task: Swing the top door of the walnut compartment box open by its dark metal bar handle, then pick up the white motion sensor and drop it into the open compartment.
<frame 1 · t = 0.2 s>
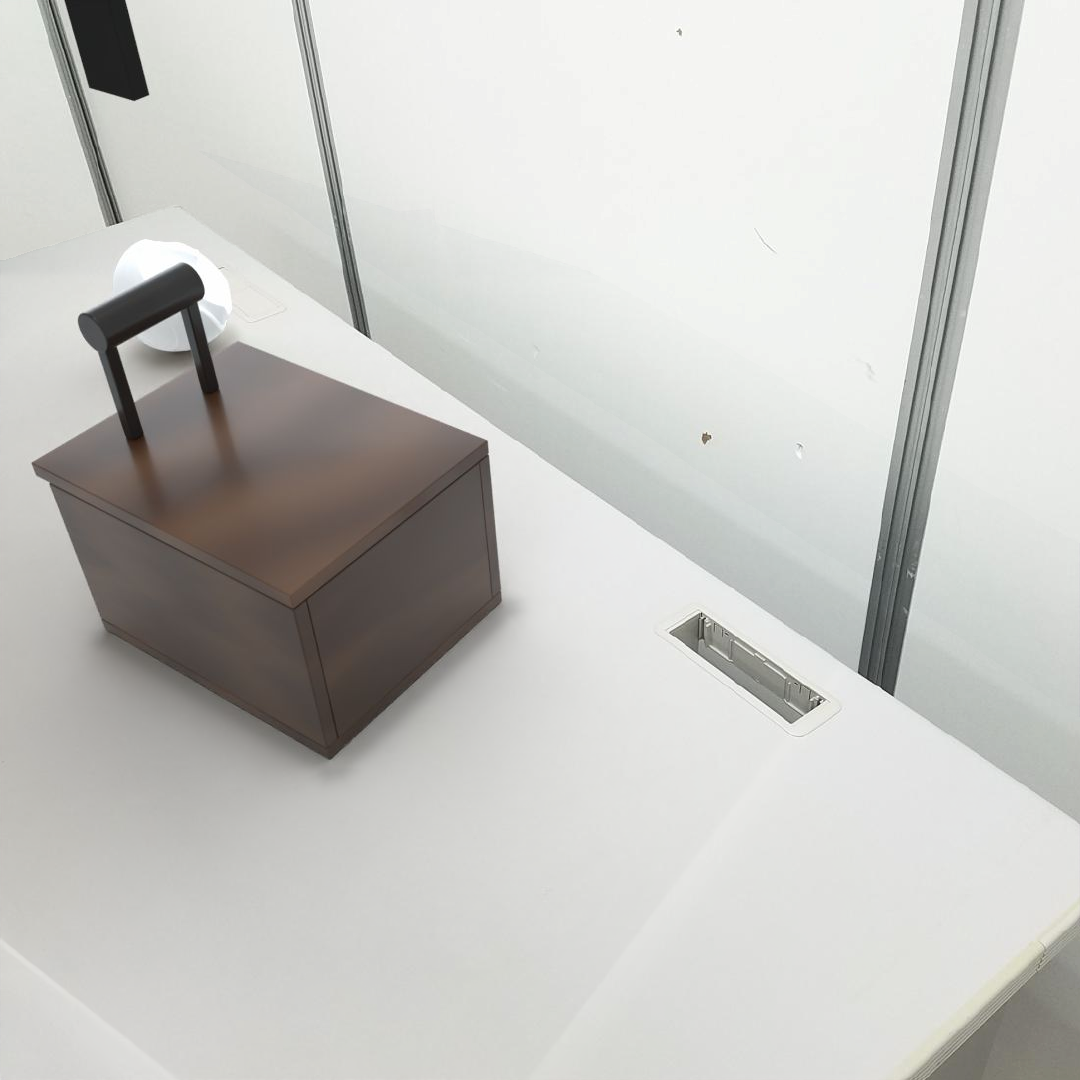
compartment: (304, 614, 67), on the table
compartment door: (247, 397, 58), point 14 cm above the table, hinge at 0.0°
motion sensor: (185, 346, 89), on the table
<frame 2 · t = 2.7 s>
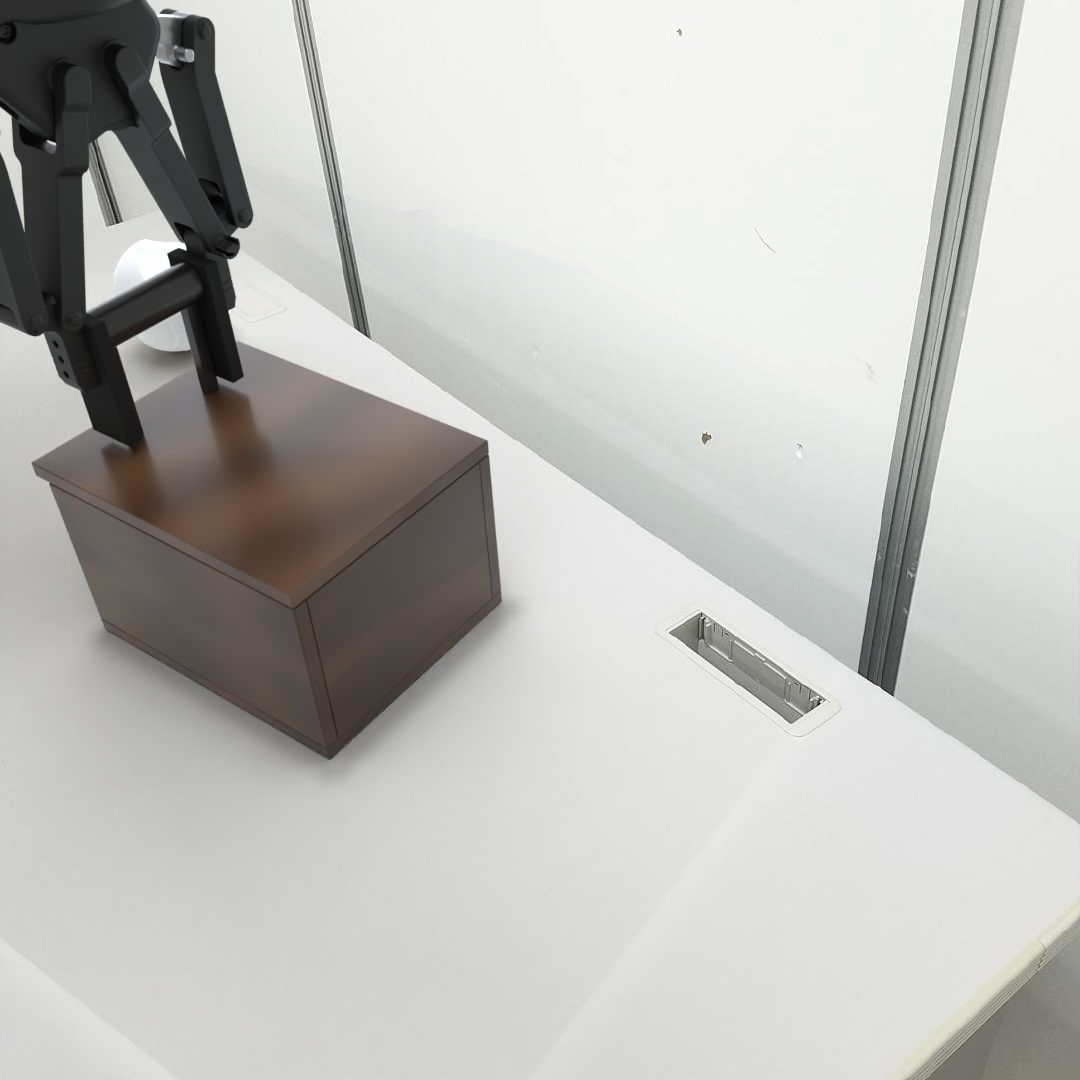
hand: (170, 401, 63), 11 cm above the table, tool pointing down, fingers closed on compartment door, 6 cm apart
compartment door: (247, 397, 58), point 14 cm above the table, hinge at 0.0°, touching gripper
everything else where it was.
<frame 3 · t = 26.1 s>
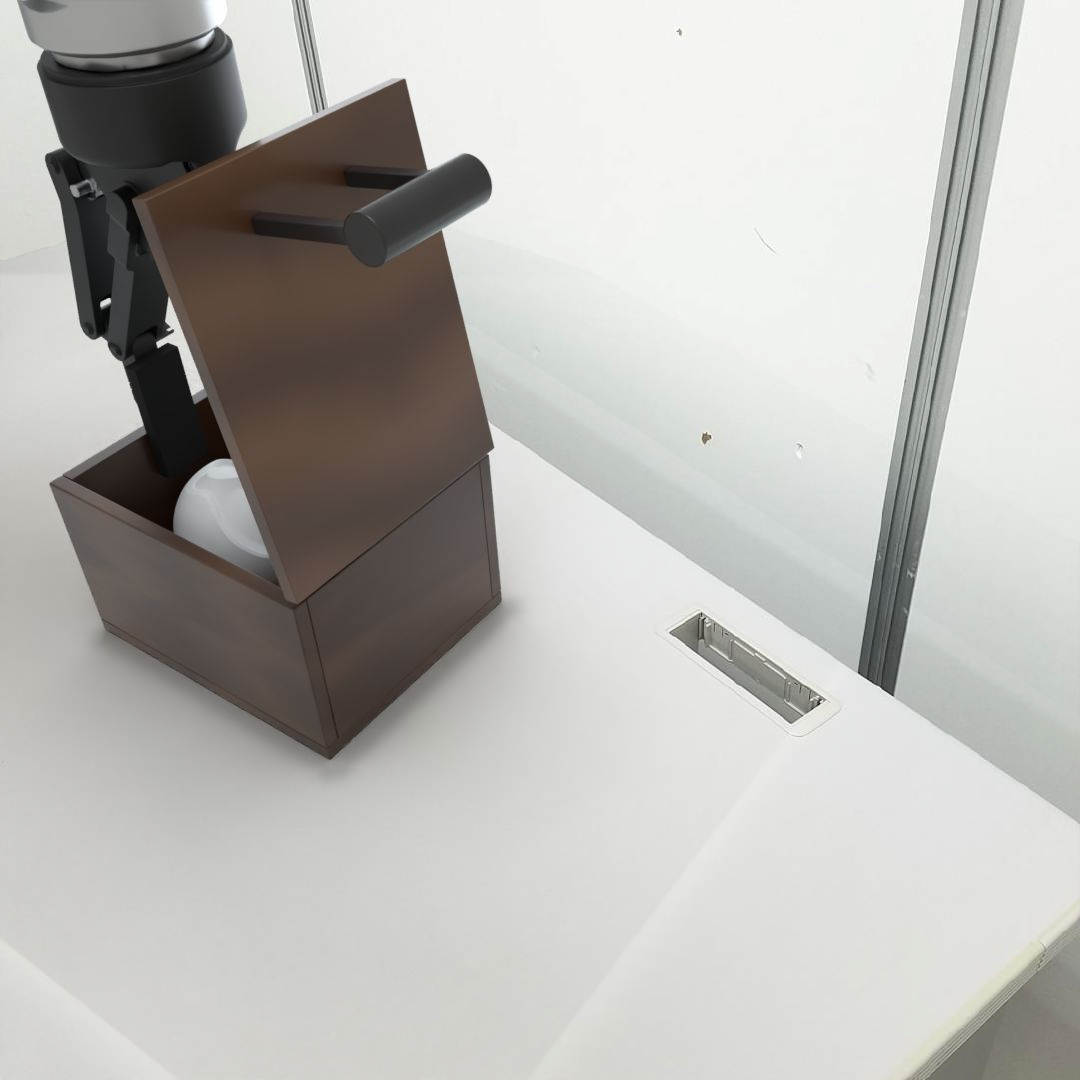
hand: (251, 495, 63), 7 cm above the table, tool pointing down, fingers open, 9 cm apart
compartment door: (405, 355, 50), point 19 cm above the table, hinge at 79.9°
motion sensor: (265, 587, 68), point 1 cm above the table, touching compartment
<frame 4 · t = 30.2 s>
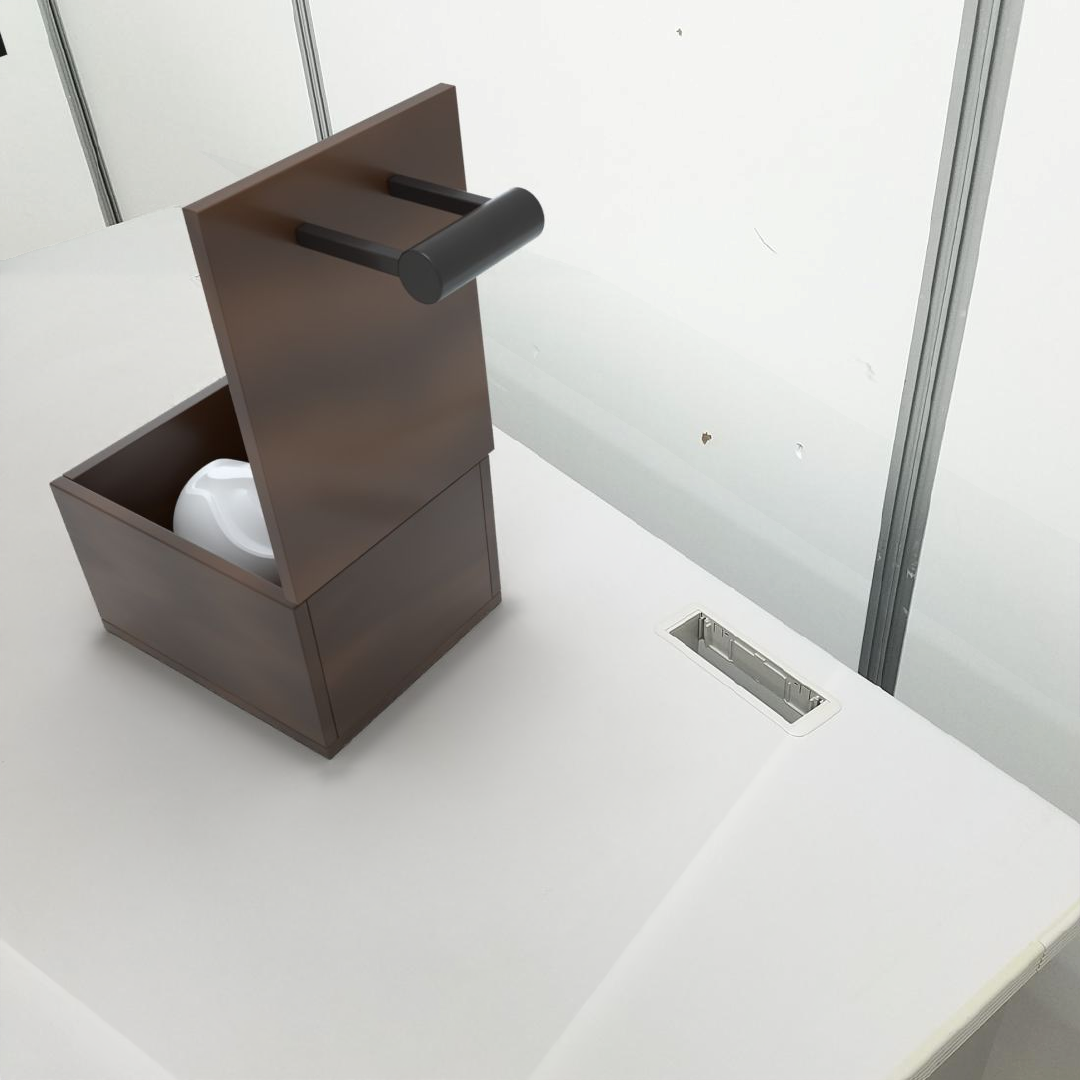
compartment door: (432, 374, 50), point 19 cm above the table, hinge at 88.7°
everything else where it was.
at the end: compartment door at +89° (first picture: +0°); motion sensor inside the target area in the compartment (2.8 cm from its centre), point 0.6 cm above the compartment's base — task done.
